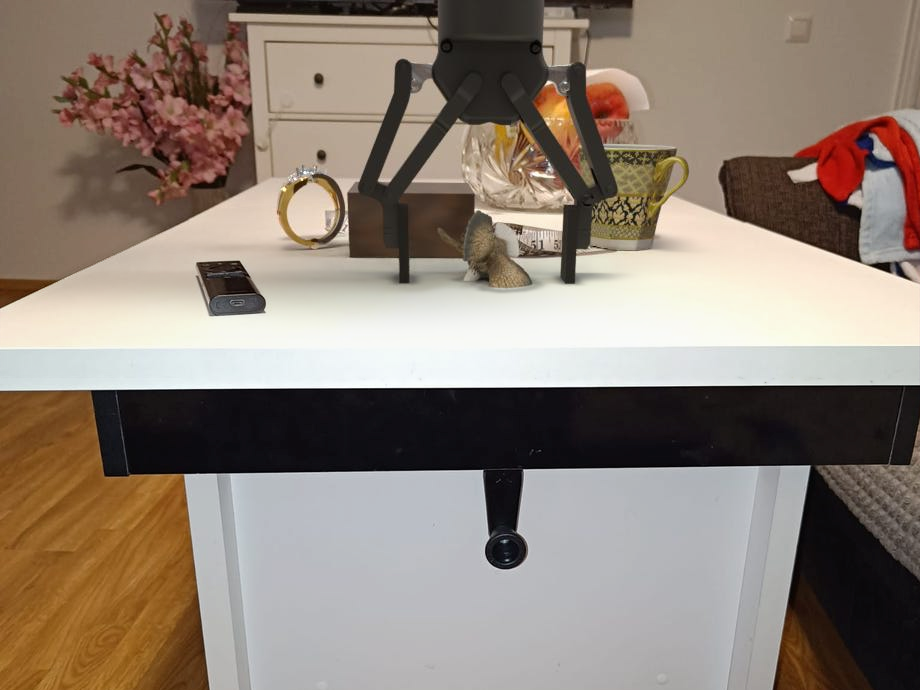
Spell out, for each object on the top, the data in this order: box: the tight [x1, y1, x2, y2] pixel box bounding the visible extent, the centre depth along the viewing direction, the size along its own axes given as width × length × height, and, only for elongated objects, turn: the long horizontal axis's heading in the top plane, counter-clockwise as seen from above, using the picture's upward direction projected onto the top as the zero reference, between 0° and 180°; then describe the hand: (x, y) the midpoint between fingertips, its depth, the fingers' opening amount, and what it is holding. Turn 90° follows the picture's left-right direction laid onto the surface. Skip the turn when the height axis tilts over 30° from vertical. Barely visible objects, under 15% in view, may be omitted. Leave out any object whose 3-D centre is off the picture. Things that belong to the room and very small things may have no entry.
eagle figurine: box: [437, 209, 533, 289], centre depth 72 cm, size 8×7×9 cm
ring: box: [276, 164, 346, 250], centre depth 93 cm, size 7×3×8 cm, turn 119°
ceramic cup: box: [578, 143, 690, 251], centre depth 96 cm, size 13×10×10 cm
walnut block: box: [346, 181, 476, 259], centre depth 94 cm, size 12×12×6 cm
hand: (486, 291), depth 73 cm, fingers open, 12 cm apart
